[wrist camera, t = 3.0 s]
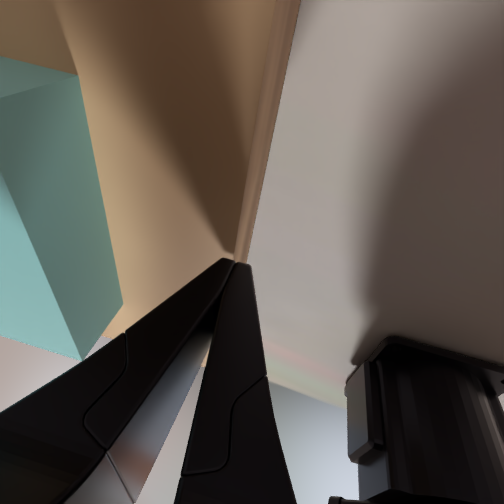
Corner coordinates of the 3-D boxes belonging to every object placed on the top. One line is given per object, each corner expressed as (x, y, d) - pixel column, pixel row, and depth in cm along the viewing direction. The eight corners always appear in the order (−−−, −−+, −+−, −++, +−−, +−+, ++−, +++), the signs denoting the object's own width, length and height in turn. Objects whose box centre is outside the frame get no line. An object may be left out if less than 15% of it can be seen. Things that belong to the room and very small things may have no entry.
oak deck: (312, -57, 7) (292, -98, 4) (237, 303, 17) (214, 370, 14) (-254, -174, 8) (-588, -272, 5) (-26, 226, 18) (-101, 273, 15)
